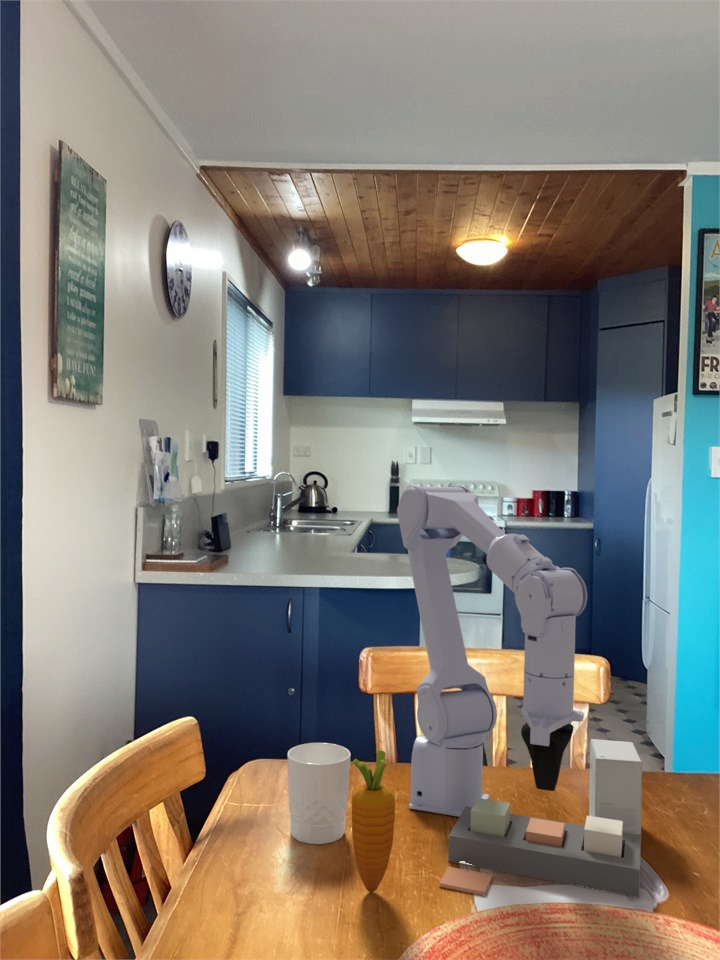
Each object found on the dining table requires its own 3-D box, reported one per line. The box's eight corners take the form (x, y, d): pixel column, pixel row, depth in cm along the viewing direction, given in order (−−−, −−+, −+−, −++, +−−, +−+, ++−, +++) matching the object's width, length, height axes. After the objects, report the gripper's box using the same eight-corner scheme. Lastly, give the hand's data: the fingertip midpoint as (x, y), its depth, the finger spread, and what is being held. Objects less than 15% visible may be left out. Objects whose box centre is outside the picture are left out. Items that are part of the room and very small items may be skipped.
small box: (641, 848, 97) (643, 762, 97) (593, 843, 98) (595, 758, 98) (632, 820, 105) (634, 741, 105) (588, 816, 106) (590, 737, 106)
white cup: (359, 826, 101) (360, 748, 101) (331, 852, 94) (332, 768, 94) (305, 814, 105) (306, 739, 105) (274, 839, 98) (275, 757, 98)
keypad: (448, 861, 93) (448, 835, 93) (465, 829, 101) (465, 806, 101) (639, 897, 85) (639, 869, 85) (640, 860, 94) (640, 835, 94)
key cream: (583, 860, 90) (584, 829, 90) (586, 845, 94) (587, 815, 94) (620, 866, 88) (621, 835, 88) (622, 851, 92) (622, 821, 92)
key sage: (470, 839, 94) (470, 810, 94) (477, 826, 98) (477, 797, 98) (503, 845, 93) (504, 816, 93) (509, 831, 97) (510, 803, 97)
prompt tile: (439, 886, 87) (439, 882, 87) (448, 869, 91) (448, 866, 91) (484, 895, 85) (485, 892, 85) (492, 878, 89) (492, 874, 89)
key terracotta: (525, 861, 92) (525, 831, 92) (530, 846, 96) (530, 817, 96) (560, 867, 91) (561, 837, 91) (564, 852, 94) (564, 823, 94)
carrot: (359, 908, 82) (362, 763, 82) (341, 885, 87) (344, 748, 87) (402, 899, 84) (405, 757, 84) (382, 877, 89) (385, 743, 89)
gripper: (578, 691, 85) (575, 818, 85) (589, 662, 99) (586, 771, 99) (512, 684, 87) (509, 807, 88) (531, 656, 101) (528, 763, 101)
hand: (546, 788), depth 93 cm, fingers closed
